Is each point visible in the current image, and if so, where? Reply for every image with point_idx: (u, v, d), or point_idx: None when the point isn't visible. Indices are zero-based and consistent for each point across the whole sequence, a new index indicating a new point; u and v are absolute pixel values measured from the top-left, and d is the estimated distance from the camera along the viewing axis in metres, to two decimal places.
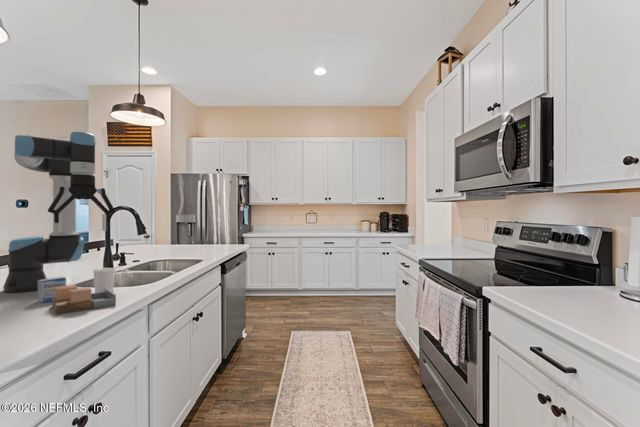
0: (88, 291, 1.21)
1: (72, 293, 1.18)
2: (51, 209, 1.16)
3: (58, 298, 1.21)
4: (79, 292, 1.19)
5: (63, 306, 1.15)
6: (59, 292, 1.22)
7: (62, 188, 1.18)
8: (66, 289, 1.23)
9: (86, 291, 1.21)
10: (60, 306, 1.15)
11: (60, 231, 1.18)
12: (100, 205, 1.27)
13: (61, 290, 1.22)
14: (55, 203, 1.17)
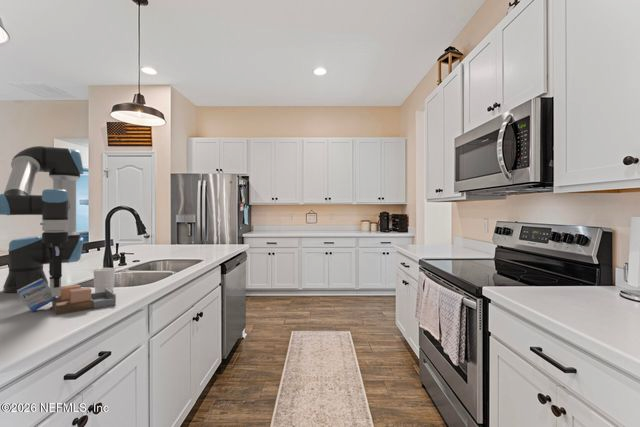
0: (88, 291, 1.21)
1: (72, 293, 1.18)
2: (49, 270, 1.25)
3: (62, 297, 1.22)
4: (79, 292, 1.19)
5: (63, 306, 1.15)
6: (63, 292, 1.22)
7: None
8: (70, 288, 1.24)
9: (86, 291, 1.21)
10: (60, 306, 1.15)
11: None
12: (52, 267, 1.20)
13: (65, 289, 1.23)
14: (49, 264, 1.25)
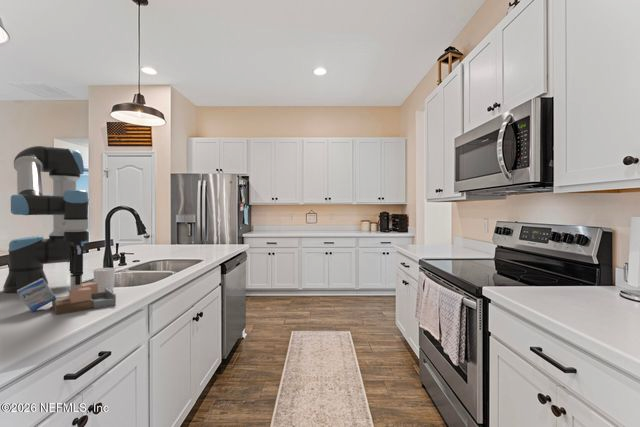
0: (88, 291, 1.21)
1: (72, 293, 1.18)
2: None
3: None
4: (79, 292, 1.19)
5: (63, 306, 1.15)
6: None
7: None
8: (90, 286, 1.29)
9: (86, 291, 1.21)
10: (60, 306, 1.15)
11: None
12: (73, 265, 1.24)
13: None
14: None
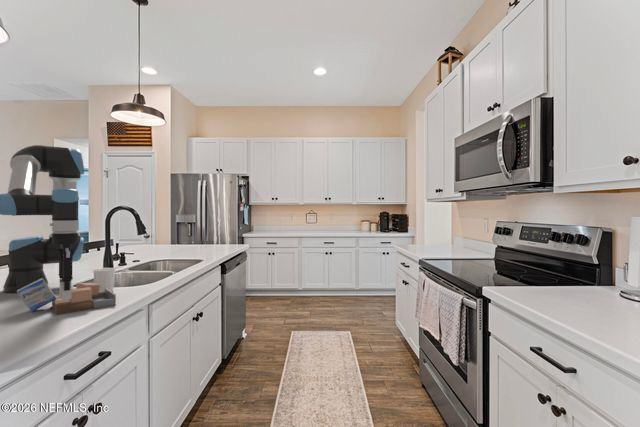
0: (88, 291, 1.21)
1: (72, 293, 1.18)
2: (59, 273, 1.21)
3: None
4: (79, 292, 1.19)
5: (63, 306, 1.15)
6: None
7: None
8: (92, 286, 1.29)
9: (86, 291, 1.21)
10: (60, 306, 1.15)
11: None
12: (62, 269, 1.15)
13: (88, 286, 1.28)
14: (59, 266, 1.21)
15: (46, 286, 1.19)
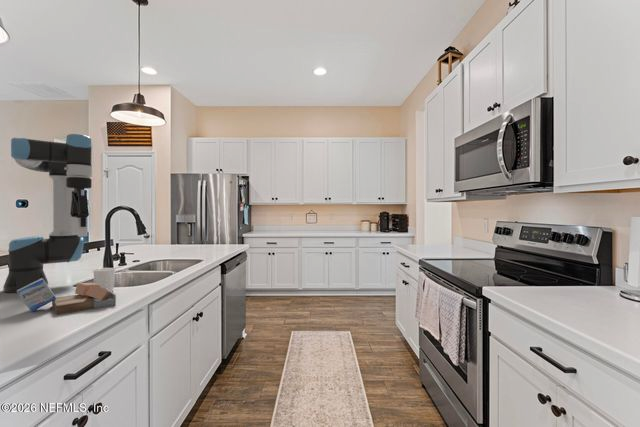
0: (104, 290, 1.25)
1: (91, 286, 1.24)
2: (70, 212, 1.28)
3: (84, 294, 1.27)
4: (97, 288, 1.24)
5: (63, 306, 1.15)
6: (86, 288, 1.27)
7: (71, 192, 1.26)
8: None
9: (102, 290, 1.25)
10: (60, 306, 1.15)
11: (71, 233, 1.26)
12: (77, 208, 1.18)
13: (88, 286, 1.28)
14: (71, 206, 1.27)
15: (46, 286, 1.19)
